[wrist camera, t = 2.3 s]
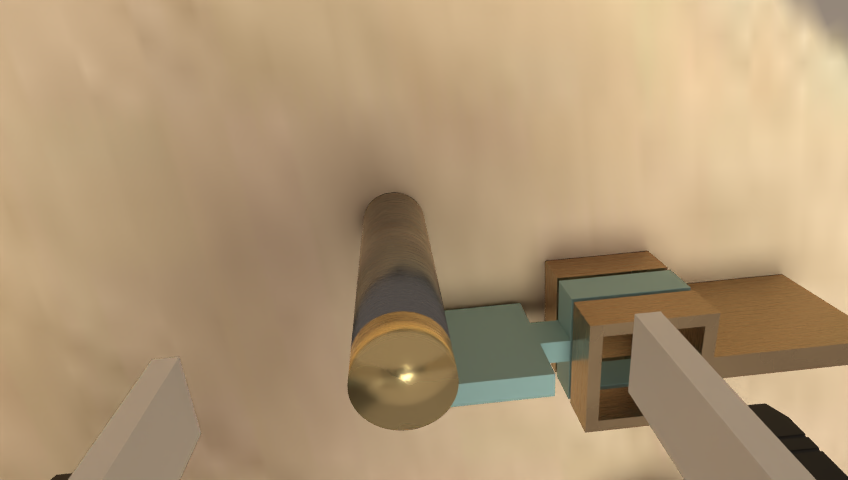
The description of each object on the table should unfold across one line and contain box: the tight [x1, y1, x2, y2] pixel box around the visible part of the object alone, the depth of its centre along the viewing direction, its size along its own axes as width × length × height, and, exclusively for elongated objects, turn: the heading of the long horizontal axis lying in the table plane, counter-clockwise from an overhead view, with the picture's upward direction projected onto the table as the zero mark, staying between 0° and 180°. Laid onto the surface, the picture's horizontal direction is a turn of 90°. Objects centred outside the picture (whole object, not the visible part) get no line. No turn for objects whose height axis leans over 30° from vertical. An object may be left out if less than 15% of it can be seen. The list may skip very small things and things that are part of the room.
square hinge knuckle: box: [545, 251, 848, 432], centre depth 28 cm, size 14×6×7 cm, turn 94°
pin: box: [348, 193, 459, 430], centre depth 22 cm, size 3×3×14 cm
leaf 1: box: [444, 270, 691, 407], centre depth 28 cm, size 14×6×7 cm, turn 94°
